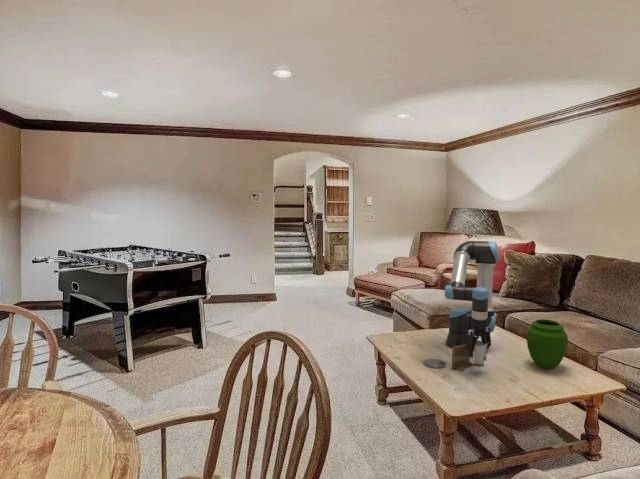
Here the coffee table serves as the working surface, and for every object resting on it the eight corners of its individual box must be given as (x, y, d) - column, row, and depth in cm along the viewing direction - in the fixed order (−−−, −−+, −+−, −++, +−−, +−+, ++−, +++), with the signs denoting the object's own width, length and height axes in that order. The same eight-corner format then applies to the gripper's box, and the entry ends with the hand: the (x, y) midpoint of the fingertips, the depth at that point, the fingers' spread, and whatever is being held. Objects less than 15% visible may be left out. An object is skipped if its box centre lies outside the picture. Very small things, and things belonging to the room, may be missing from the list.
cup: (487, 365, 203) (488, 346, 202) (471, 364, 205) (471, 345, 204) (484, 359, 211) (485, 340, 210) (468, 358, 213) (468, 339, 212)
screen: (449, 367, 215) (449, 345, 214) (477, 361, 224) (478, 340, 222) (457, 371, 210) (457, 349, 209) (485, 365, 218) (486, 343, 217)
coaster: (418, 361, 223) (418, 360, 223) (435, 358, 228) (435, 357, 228) (433, 370, 212) (433, 368, 212) (450, 366, 217) (450, 365, 217)
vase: (566, 377, 202) (569, 330, 200) (523, 369, 212) (525, 324, 210) (567, 364, 219) (569, 320, 217) (526, 357, 229) (528, 315, 227)
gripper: (469, 323, 198) (468, 367, 200) (500, 317, 206) (498, 360, 209) (458, 319, 204) (457, 362, 207) (488, 313, 213) (487, 355, 215)
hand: (478, 361), depth 208 cm, fingers closed on cup, 8 cm apart
